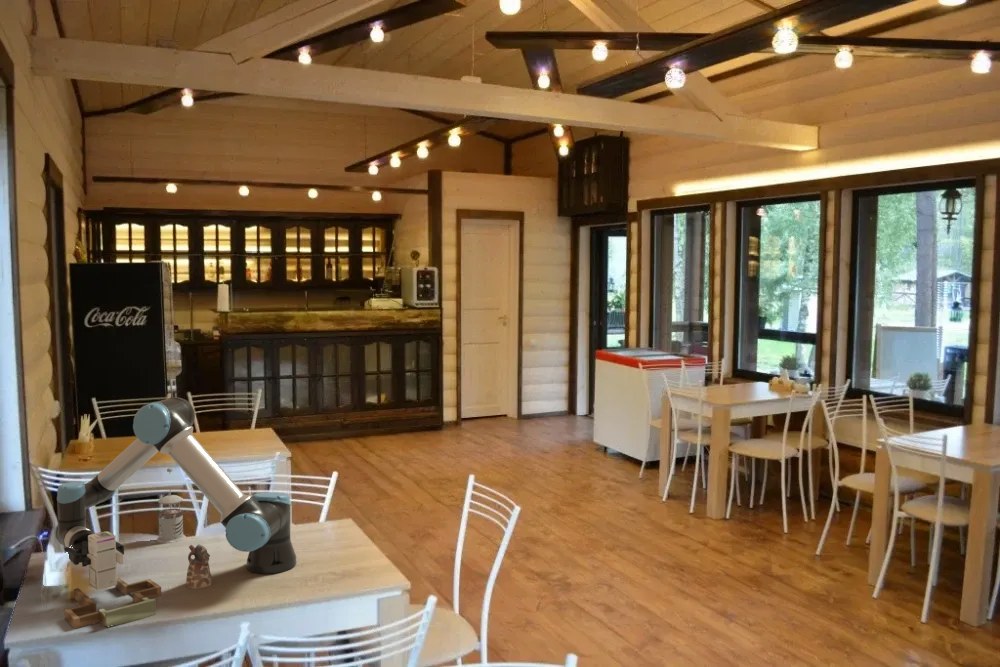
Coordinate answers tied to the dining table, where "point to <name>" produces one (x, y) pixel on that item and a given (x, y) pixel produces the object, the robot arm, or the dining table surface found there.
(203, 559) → the figurine
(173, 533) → the french press
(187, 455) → the robot arm
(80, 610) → the channel
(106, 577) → the syrup box
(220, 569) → the dining table surface
